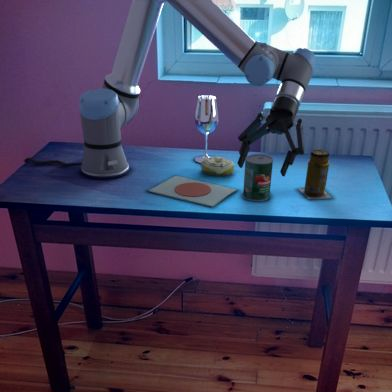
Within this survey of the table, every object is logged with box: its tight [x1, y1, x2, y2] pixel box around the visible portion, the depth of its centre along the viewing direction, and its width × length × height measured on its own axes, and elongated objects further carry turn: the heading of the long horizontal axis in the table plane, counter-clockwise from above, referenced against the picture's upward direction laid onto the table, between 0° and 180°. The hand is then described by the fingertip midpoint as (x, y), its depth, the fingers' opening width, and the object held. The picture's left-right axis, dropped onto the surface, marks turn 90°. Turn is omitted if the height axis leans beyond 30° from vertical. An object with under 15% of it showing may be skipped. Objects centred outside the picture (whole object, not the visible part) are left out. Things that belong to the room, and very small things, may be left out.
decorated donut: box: [200, 156, 236, 177], centre depth 172 cm, size 10×11×4 cm
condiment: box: [298, 149, 332, 200], centre depth 155 cm, size 7×8×12 cm
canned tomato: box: [242, 153, 274, 202], centre depth 154 cm, size 8×8×11 cm
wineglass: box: [194, 94, 219, 164], centre depth 176 cm, size 8×8×20 cm
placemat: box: [147, 175, 238, 208], centre depth 160 cm, size 22×15×1 cm
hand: (260, 169), depth 153 cm, fingers open, 13 cm apart
